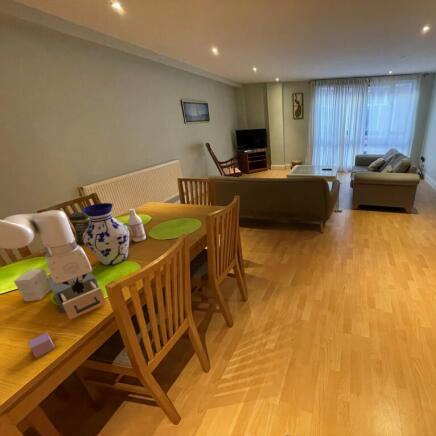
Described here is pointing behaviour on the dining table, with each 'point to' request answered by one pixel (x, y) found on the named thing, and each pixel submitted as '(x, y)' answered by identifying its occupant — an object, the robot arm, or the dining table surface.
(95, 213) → the vase
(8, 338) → the dining table surface
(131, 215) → the bath foam
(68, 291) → the sliding drawer
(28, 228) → the robot arm
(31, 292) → the small box
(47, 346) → the lavender rounded block
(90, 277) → the drawer box
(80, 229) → the coffee jar
